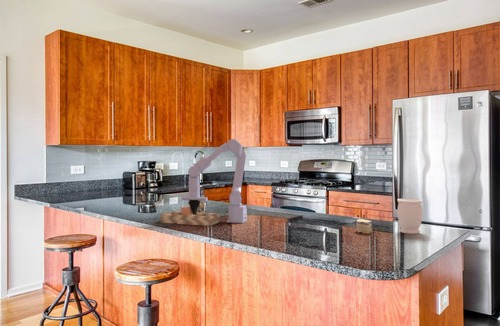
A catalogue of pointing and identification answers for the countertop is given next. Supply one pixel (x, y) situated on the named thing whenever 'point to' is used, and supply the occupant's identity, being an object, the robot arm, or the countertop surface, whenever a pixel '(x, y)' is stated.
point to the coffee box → (201, 206)
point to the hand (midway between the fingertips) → (194, 214)
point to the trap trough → (190, 218)
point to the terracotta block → (186, 211)
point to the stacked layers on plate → (363, 226)
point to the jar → (409, 215)
